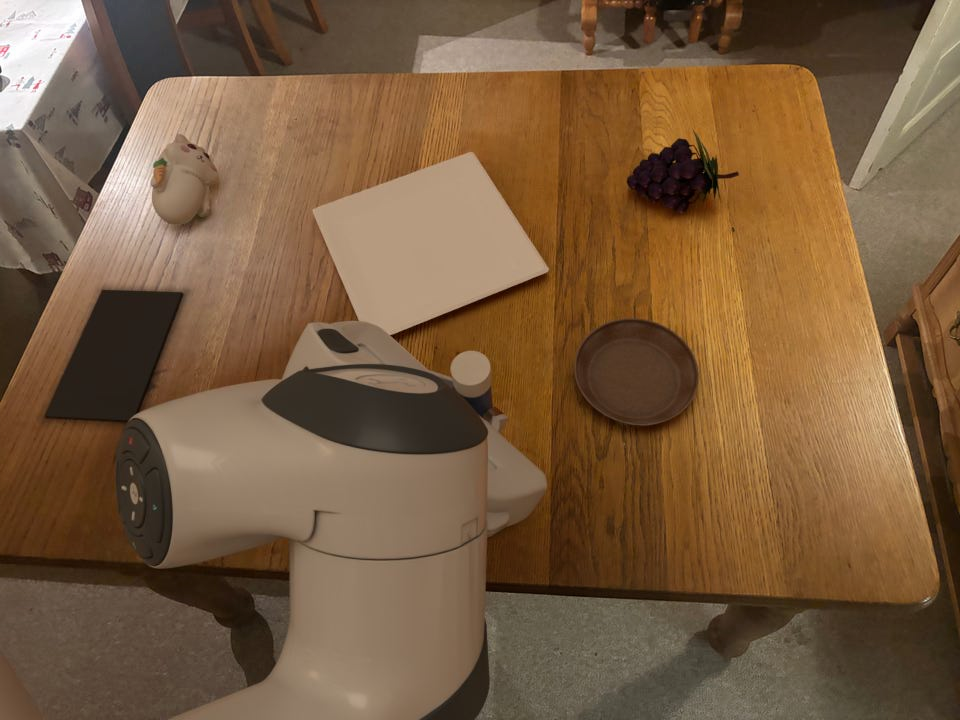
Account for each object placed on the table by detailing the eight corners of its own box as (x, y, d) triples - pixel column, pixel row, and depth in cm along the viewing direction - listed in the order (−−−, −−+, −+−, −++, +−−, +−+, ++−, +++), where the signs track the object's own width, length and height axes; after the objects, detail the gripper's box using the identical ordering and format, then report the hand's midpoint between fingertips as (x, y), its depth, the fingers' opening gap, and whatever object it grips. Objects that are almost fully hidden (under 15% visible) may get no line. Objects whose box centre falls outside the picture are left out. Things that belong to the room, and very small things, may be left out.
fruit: (631, 193, 102) (735, 176, 97) (632, 237, 95) (743, 221, 90) (622, 134, 94) (734, 113, 90) (622, 177, 88) (742, 157, 83)
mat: (134, 422, 83) (132, 420, 83) (46, 417, 84) (43, 416, 84) (183, 294, 93) (182, 291, 93) (104, 291, 94) (102, 289, 94)
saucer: (718, 376, 81) (724, 365, 79) (644, 458, 77) (647, 449, 74) (623, 310, 87) (626, 298, 85) (548, 382, 82) (549, 371, 80)
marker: (484, 475, 63) (472, 392, 48) (460, 457, 64) (442, 370, 49) (504, 452, 64) (498, 364, 49) (480, 434, 65) (468, 343, 50)
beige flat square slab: (371, 351, 86) (368, 342, 85) (314, 217, 99) (310, 208, 97) (549, 279, 91) (550, 269, 89) (473, 159, 103) (472, 149, 101)
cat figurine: (155, 193, 91) (174, 110, 97) (123, 213, 95) (144, 132, 101) (215, 226, 98) (230, 147, 104) (183, 244, 102) (200, 167, 108)
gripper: (503, 505, 38) (596, 456, 50) (295, 308, 46) (417, 305, 58) (454, 578, 41) (554, 515, 52) (265, 378, 49) (388, 362, 60)
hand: (481, 403), depth 55 cm, fingers closed on marker, 3 cm apart
